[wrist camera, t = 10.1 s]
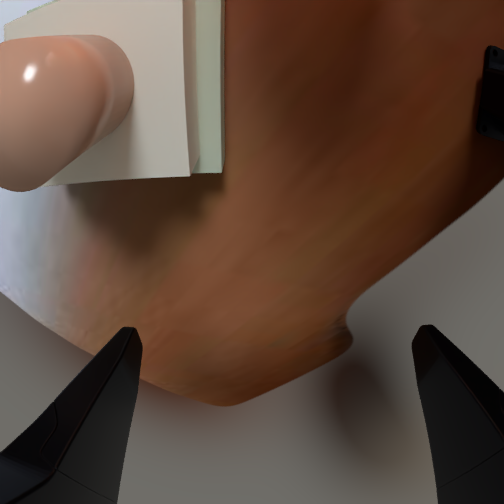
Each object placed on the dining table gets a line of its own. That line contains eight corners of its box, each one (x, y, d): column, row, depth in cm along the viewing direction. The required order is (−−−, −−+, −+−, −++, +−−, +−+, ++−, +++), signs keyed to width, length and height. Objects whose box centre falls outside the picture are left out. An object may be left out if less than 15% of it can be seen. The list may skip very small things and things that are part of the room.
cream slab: (195, -15, 11) (182, -30, 8) (200, 154, 16) (190, 176, 13) (37, 23, 11) (4, 25, 8) (55, 166, 16) (28, 188, 13)
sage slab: (226, -21, 12) (221, -33, 10) (225, 155, 19) (221, 172, 16) (53, 12, 12) (26, 11, 10) (69, 164, 19) (47, 182, 16)
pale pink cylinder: (134, 25, 9) (69, 18, 5) (136, 139, 12) (83, 189, 8) (35, 48, 9) (-43, 64, 5) (44, 147, 12) (-22, 194, 8)
